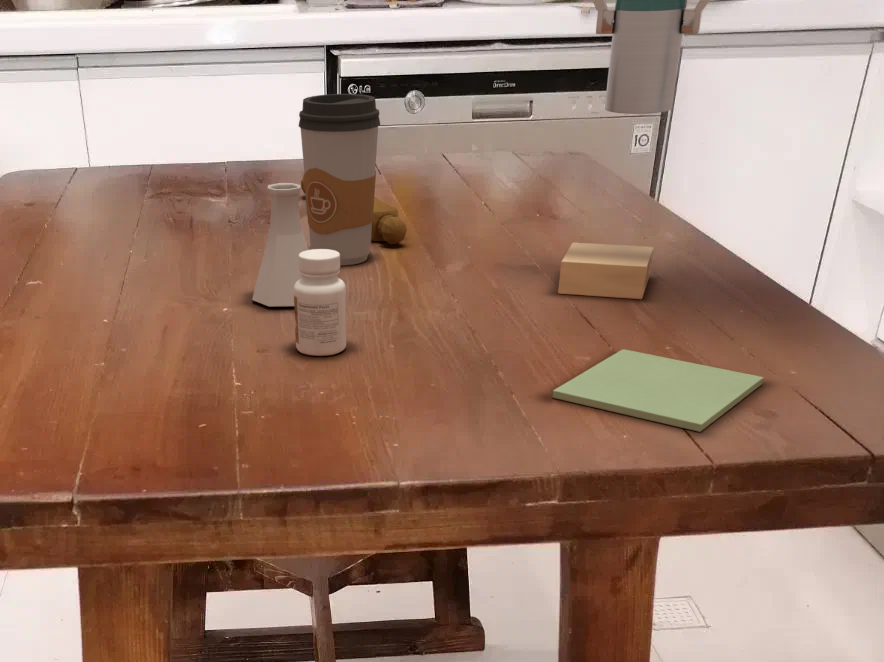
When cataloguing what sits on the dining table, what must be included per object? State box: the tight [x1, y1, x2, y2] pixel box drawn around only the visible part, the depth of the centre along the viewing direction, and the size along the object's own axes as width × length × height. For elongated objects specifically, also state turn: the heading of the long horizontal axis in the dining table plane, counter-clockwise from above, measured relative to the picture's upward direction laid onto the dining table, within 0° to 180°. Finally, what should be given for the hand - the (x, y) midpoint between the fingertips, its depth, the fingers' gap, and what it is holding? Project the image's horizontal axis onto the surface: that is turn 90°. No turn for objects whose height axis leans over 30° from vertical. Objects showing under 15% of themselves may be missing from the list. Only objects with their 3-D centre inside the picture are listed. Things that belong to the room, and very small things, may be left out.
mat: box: [551, 348, 764, 433], centre depth 85 cm, size 12×12×1 cm
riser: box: [557, 241, 655, 300], centre depth 108 cm, size 8×8×3 cm
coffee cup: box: [298, 93, 381, 266], centre depth 114 cm, size 8×8×15 cm
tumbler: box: [604, 0, 688, 115], centre depth 98 cm, size 9×6×6 cm
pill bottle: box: [293, 249, 347, 357], centre depth 93 cm, size 4×4×8 cm
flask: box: [252, 182, 310, 307], centre depth 104 cm, size 7×7×10 cm
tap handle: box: [300, 175, 407, 245], centre depth 132 cm, size 3×3×30 cm
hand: (647, 33), depth 97 cm, fingers closed on tumbler, 6 cm apart
